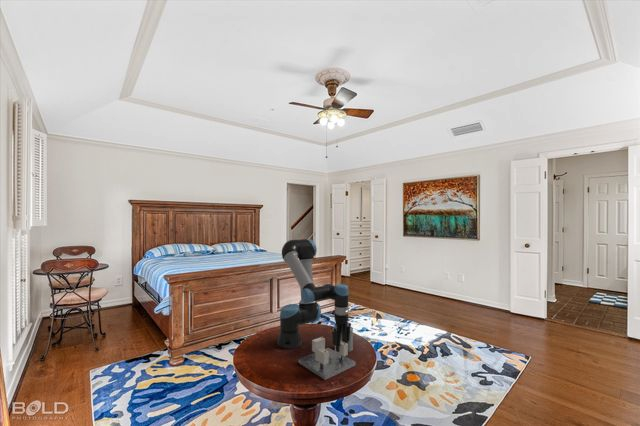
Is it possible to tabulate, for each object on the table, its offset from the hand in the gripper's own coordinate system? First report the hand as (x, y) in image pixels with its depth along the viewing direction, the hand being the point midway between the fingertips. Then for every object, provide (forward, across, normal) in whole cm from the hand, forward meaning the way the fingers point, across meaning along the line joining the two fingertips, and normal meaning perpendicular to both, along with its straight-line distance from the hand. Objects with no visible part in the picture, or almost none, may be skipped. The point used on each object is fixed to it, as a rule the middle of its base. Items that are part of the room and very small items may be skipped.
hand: (341, 355), depth 167 cm
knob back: (+2, -7, +11) cm, 13 cm away
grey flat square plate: (+4, -7, +4) cm, 9 cm away
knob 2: (+2, 0, 0) cm, 2 cm away
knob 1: (+2, -14, 0) cm, 14 cm away
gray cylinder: (+4, +14, +11) cm, 18 cm away
